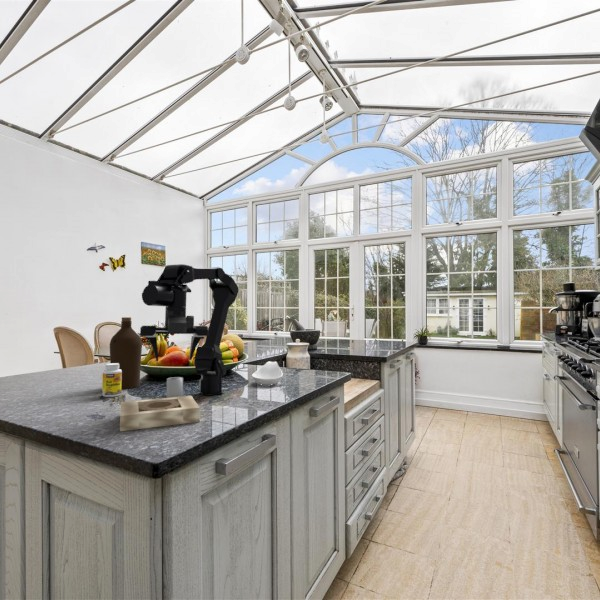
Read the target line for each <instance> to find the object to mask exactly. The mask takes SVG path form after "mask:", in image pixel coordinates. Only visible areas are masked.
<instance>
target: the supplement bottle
mask: <svg viewBox="0 0 600 600" xmlns="http://www.w3.org/2000/svg"><path fill="white" fill-rule="evenodd" d="M121 385H122V370H121V369H119V363H110V362H109V363H106V364H105V370H103V371H102V388H101V389H102V390H101V392H102V394H101V395H102V396H103V398H104V397H105V398H113V397H119V396H121V394H122V389H121Z"/></svg>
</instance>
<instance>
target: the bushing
mask: <svg viewBox="0 0 600 600" xmlns="http://www.w3.org/2000/svg"><path fill="white" fill-rule="evenodd" d="M181 396H184V377H183V376H174V377H172V376H170V377H168V378H166V398H170V397H181Z"/></svg>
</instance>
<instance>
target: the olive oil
mask: <svg viewBox="0 0 600 600" xmlns="http://www.w3.org/2000/svg"><path fill="white" fill-rule="evenodd" d="M120 324H121V325H120V329H118V331H117V332H115V334H114V335H113V336H112V337H111V338H110V342H109V364H110V363H119V369H121V370H122V385H121V390H130V389H129V388H131V389H134V388H138V387H140V385H141V384H140V382H141V364H142V351H143V350H142V348H143V341H142V338H141V336H140V334H138V333H137V332H136V331H135V330H134V329H133V327H132V317H127V316H126V317H125V316H124V317H121V323H120Z"/></svg>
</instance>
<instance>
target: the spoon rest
mask: <svg viewBox="0 0 600 600" xmlns="http://www.w3.org/2000/svg"><path fill="white" fill-rule="evenodd" d="M283 377H284V373H283V371H282V369H281V368H280V365H279V363H278V362H277V361H267V362H266V363H264V364H263V365H262V366H261V367H260V368H258V369H257V370H255V371H254V372H253V373H252V374H251V378H252V380H253V381H254V382H255V383H256V384H258V385H260V384H262V385H261V386H264V385H270V386H272V385H271V384H275V385H277V384H278V383H280V381H281V380H282V379H283ZM276 383H277V384H276Z"/></svg>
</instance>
